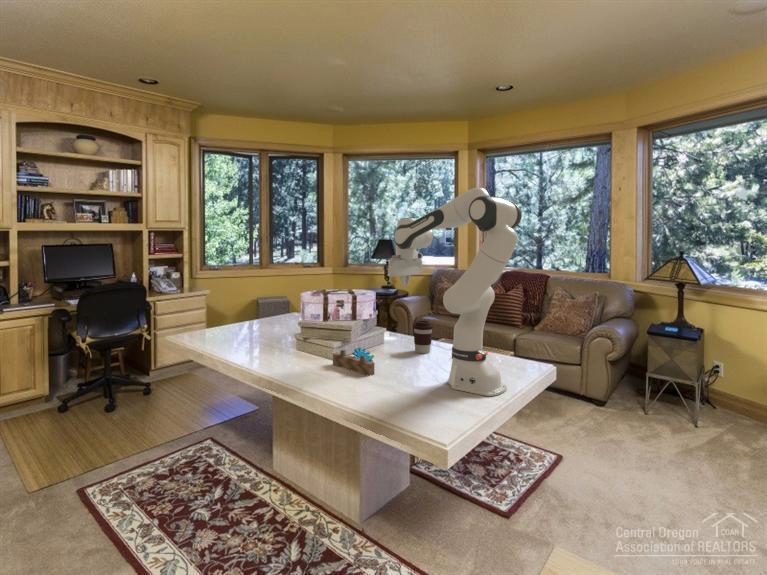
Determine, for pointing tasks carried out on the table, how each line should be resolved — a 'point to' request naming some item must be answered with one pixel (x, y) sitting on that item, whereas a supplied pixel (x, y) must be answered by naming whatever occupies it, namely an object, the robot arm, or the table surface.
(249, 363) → the table surface
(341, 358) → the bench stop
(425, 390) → the table surface
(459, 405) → the table surface
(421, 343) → the coffee cup
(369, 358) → the gear
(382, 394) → the table surface
